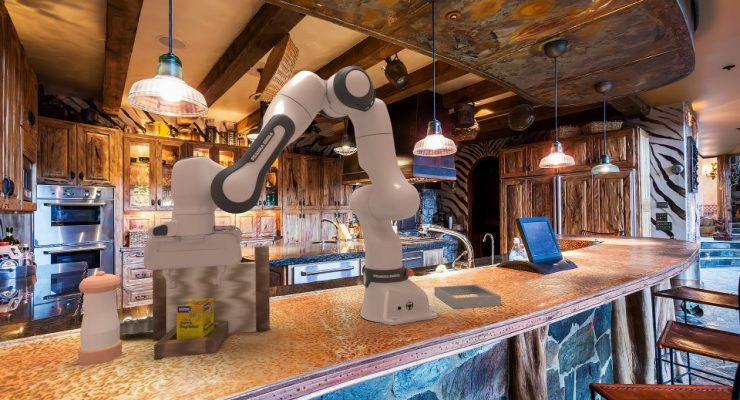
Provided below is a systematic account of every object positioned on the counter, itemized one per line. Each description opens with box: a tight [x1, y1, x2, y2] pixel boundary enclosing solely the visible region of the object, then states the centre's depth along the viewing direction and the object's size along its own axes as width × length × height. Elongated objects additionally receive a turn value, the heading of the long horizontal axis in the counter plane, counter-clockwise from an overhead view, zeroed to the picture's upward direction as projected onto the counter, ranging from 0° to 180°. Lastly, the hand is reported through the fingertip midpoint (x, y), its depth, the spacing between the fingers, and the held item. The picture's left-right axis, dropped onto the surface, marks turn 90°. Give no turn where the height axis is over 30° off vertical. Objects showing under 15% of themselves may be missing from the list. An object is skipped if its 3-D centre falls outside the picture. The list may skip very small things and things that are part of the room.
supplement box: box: [177, 298, 214, 339], centre depth 77 cm, size 6×6×11 cm
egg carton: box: [119, 315, 153, 336], centre depth 86 cm, size 11×8×4 cm
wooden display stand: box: [152, 245, 271, 361], centre depth 80 cm, size 28×16×22 cm, turn 101°
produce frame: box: [433, 284, 502, 310], centre depth 113 cm, size 16×16×3 cm
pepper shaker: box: [77, 270, 123, 366], centre depth 72 cm, size 7×7×19 cm
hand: (195, 286), depth 78 cm, fingers open, 8 cm apart
